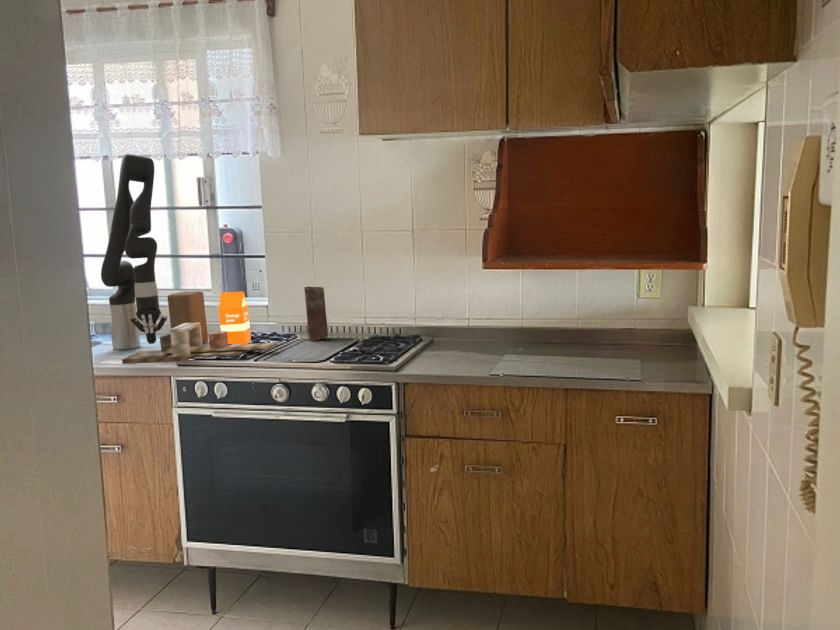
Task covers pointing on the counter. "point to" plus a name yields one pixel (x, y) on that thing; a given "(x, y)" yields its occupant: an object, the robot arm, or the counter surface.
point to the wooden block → (188, 310)
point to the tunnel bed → (180, 347)
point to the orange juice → (234, 317)
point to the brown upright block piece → (316, 313)
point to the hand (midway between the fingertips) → (152, 343)
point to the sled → (214, 344)
